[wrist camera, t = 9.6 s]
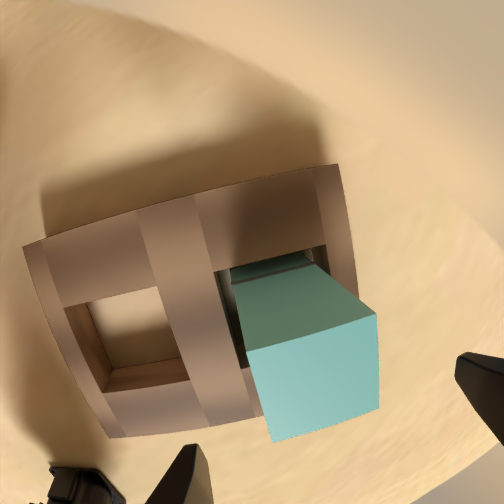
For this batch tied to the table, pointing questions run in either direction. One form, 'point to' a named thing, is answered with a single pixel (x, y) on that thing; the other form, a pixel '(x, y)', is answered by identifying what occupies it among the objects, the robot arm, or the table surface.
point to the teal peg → (306, 345)
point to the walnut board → (184, 292)
